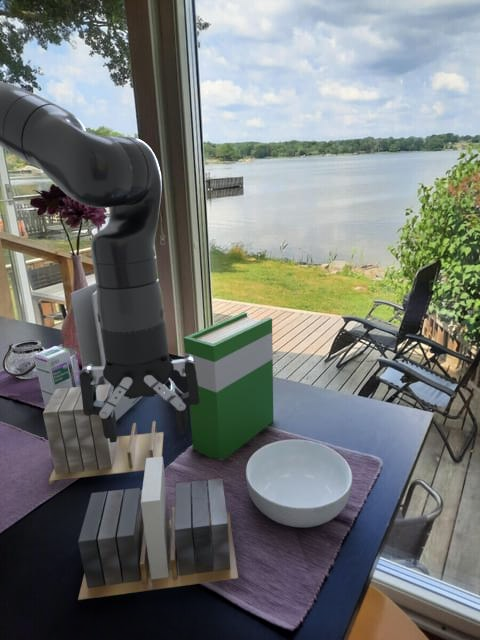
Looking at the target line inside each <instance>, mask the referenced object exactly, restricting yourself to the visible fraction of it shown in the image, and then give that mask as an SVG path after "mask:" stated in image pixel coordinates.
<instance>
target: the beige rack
mask: <svg viewBox="0 0 480 640" xmlns="http://www.w3.org/2000/svg"><path fill="white" fill-rule="evenodd" d="M110 391H111V386H110V384H106V385H98V386H97V385H96V396H97V401H102V402H104V400H105V399H106V397H107V396H108V394H109V393H110ZM42 416H43V421H44V427H45V431H46V435H47V440H48V445H49V449H50V454H51V460H52V465H53V470H52V472H51V475H50V477H49V478H48V484H49V486H52V485H54V483H55V481H58V480H69V479H78V478H88V477H96V476H97V477H98V476H105V475H106V476H107V475H114V474H125V473H135V472H142V471H144V472H145V464H146V458H154V457H163V453H164V452H163V450H164V436H165V435H164V431H161V432H158V430H157V421H156V420H153V421H152V424H151V432H149V433H140V434H138V428H137V423H136V422H132V426H131V431H130V435H121V436H118V437H117V441H116V442H112V443H110V438H109V439H106V438H105V436H104V431H103V426H102V420H101V418H100V417H99V416H98V415H94V414H92V415H90V416H87V415H85V414H84V412H83V403H82V394H81V386H76V387H72V388H70V389H69V388H60V389H56V391H55V392H54V394H53V396H52V398H51V399H50V401H49V403H48V405H47V406H46V408H45V407H44V410H43V412H42Z"/></svg>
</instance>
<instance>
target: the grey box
mask: <svg viewBox="0 0 480 640" xmlns="http://www.w3.org/2000/svg"><path fill="white" fill-rule="evenodd" d="M69 295H70V301H71V308H72V314H73V320H74V326H75V332H76V338H77V342H78V343H77V344H78V350H79V355H80V362H81V367H82V369H83V367H84V365H85V364H88V363H89V364H92V365H93V367H99V366H105V364H106V361H105V354H104V348H103V341H102V335H101V328H100V323H99V321H98V315H97V314H98V309H97V288H96V282H95V283H93V284H90V285H87V286H85V287H82V288H80V289H78V290H75V291H72V292H70V293H69ZM106 384H110V383H109V382H108V381H107V380H106V379H105V378H104V376H102V377H100V380H99V382H98V384H96V385H97V386H98V385H106ZM110 386H111V389H112V387H113V386H112V385H111V384H110ZM142 398H143V396H141V397H138V398H134V399H129V397H126V396H123V397H122V399H121V400H120V401H119V403H118V404H117V406H115V408H114V410H115V416H116V422H118V420H119V419H120V418H121V417H123V415H125V414H126V413H127V412H128V411H129V410H130V409H131V408H132V407H133V406H135V405H136V404H137V403H138V402H139V401H140V400H141V399H142Z"/></svg>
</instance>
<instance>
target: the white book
mask: <svg viewBox="0 0 480 640" xmlns="http://www.w3.org/2000/svg"><path fill="white" fill-rule="evenodd" d="M143 474H144V475H143V482H142V489H141V508H142V515H143V523H144V530H145V537H146V545H147V552H148V559H149V567H150V574H151V579H159V578H167V577H169V562H170V531H171V526H170V520H171V518H170V509H169V499H168V492H167V482H166V473H165V464H164V457H163V456H162V457H154V458H146V464H145V470H144V473H143Z"/></svg>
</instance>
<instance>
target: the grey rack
mask: <svg viewBox="0 0 480 640" xmlns="http://www.w3.org/2000/svg"><path fill="white" fill-rule="evenodd" d="M224 489H225V488H224V482H223V478H213V479H204V480H195V481H187V482H179V483H175V489H174V491H175V492H174V505H172V506H171V519H170V526H171V531H170V562H169V577H167V578H159V579H151V574H150V567H149V559H148V552H147V545H146V537H145V530H144V523H143V515H142V508H141V496H142V490H141V488H140V487H134V488H126V489H115V490H108V491H98V492H92V493H91V494H90V498H89V502H88V506H87V509H86V512H85V516H84V519H83V523H82V526H81V530H80V534H79V537H78V541H77V543H78V547H79V553H80V558H81V562H82V567H83V573H84V574H83V577H82V582H81V585H80V589H79V594H78V598H77V600H78V601H82V600H87V599H95V598H102V597H103V598H104V597H110V596H119V595H125V594H131V593H139V592H146V591H147V592H149V591H153V590H161V589H169V588H177V587H183V586H191V585H199V584H204V583H205V584H207V583H212V582H220V581H227V580H235V579H239V573H238V566H237V557H236V552H235V544H234V536H233V530H232V522H231V516H230V515H231V514H230V512H227V504H226V498H225V490H224Z"/></svg>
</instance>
